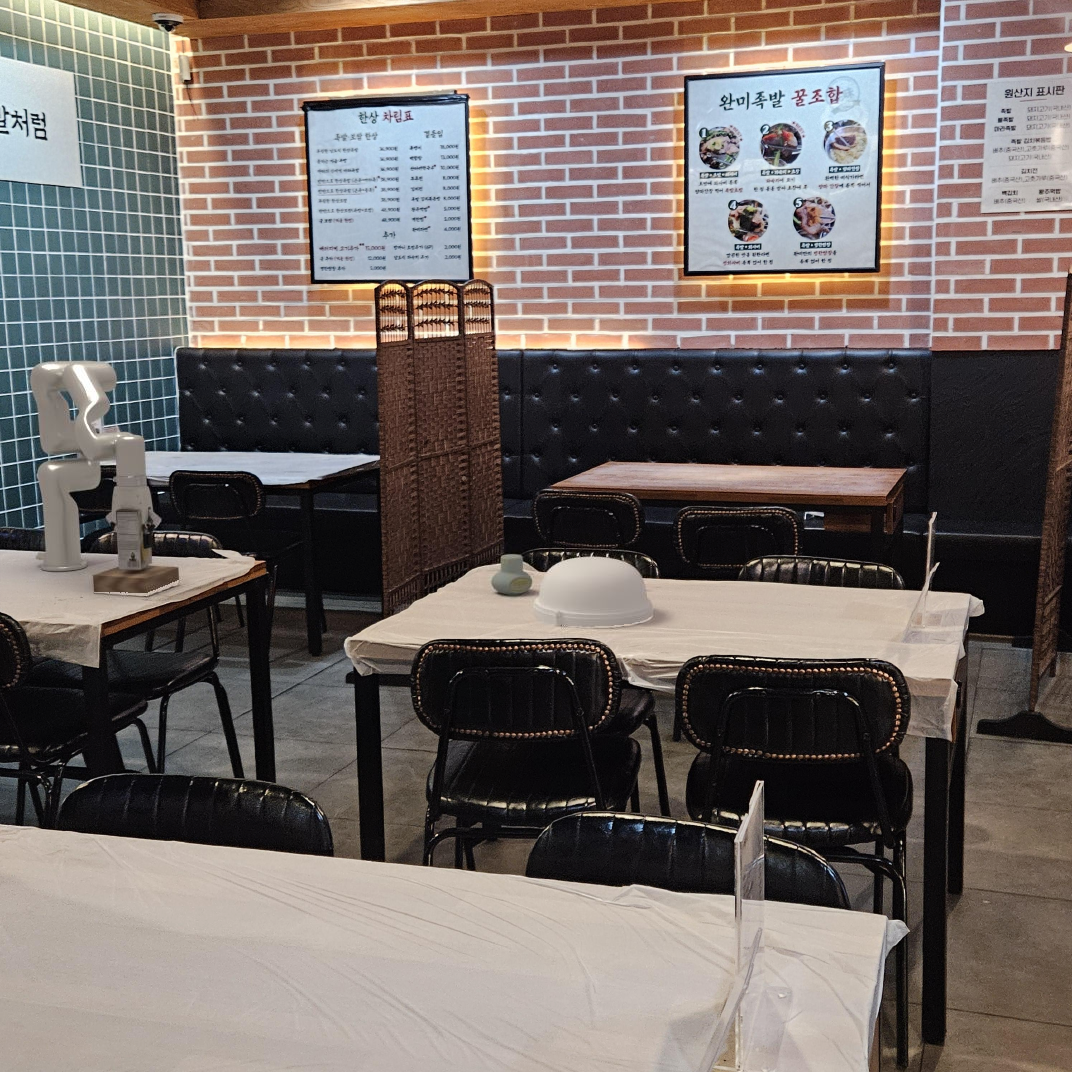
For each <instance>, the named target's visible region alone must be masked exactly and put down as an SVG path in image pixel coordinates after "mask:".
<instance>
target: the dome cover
mask: <svg viewBox="0 0 1072 1072" xmlns="http://www.w3.org/2000/svg"><path fill="white" fill-rule="evenodd" d="M532 606H533V607H532V616H533V618H534V617H535V618H534V619H536V620H537V619H538V621H539V620H540V621H539V622H543V623H545V622H547V623H546V624H548V623H550V624H549V625H552V624H554V625H555V626H554V625H553V626H554V627H556V626H560V627H563V626H564V625H565V626H578V627H579V626H582V627H588V626H589V627H595V626H614V625H624V624H632V623H635V622H640V621H643V620H646V619H648V618H649V617H651V616H652V615H653V616H654V609H653V603H652V600H651V599H649V598H648V593H647V588H646V584H645V582H644V578H643V576H642V574H641V573H640V572H639V570H637V568H635V567H634V566H633V565H631V564H629V563H627V562H625V561H623V560H619V559H617V558H616V559H615V558H612V557H603V556H582V557H574V558H573V557H572V558H568V559H565V560H562V561H559V562H557V563H555V564H554V565H552V566H551V567H550V568H549V569H548V570H547V571H546V573H545V574H544V576H543V578H542V580H541V584H540V588H539V593H538V596H537V597H536V598H535V599H534V602H533V605H532ZM561 625H563V626H561Z"/></svg>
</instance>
